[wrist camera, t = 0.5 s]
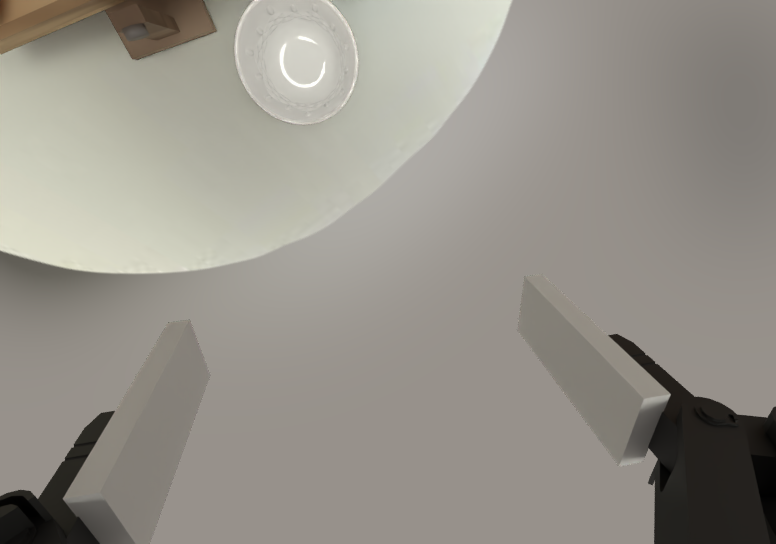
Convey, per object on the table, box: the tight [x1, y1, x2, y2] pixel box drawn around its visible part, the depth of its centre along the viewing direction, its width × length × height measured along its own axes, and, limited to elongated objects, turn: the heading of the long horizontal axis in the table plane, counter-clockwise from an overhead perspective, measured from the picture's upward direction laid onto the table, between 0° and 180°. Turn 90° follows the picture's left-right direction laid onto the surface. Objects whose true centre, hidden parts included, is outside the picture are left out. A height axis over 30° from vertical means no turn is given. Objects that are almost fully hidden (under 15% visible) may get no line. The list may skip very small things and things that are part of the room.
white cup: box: [234, 0, 359, 125], centre depth 29 cm, size 8×8×10 cm
